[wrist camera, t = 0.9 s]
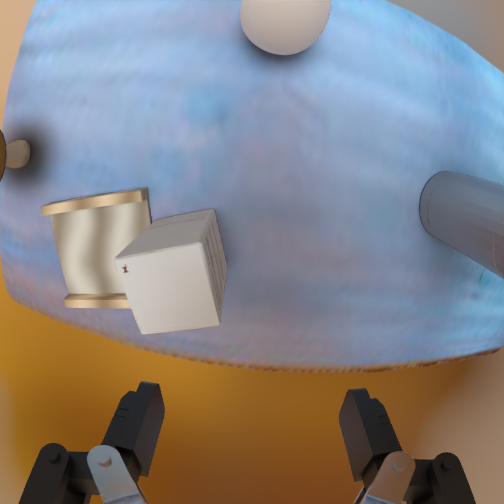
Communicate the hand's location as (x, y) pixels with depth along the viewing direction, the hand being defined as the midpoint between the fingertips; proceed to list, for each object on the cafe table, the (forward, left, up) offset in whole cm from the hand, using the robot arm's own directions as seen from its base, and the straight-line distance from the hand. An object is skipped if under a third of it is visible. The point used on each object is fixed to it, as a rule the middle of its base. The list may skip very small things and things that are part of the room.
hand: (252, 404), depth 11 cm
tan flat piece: (+18, 0, -24) cm, 30 cm away
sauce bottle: (-5, -23, -24) cm, 34 cm away
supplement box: (+6, 0, -24) cm, 25 cm away
